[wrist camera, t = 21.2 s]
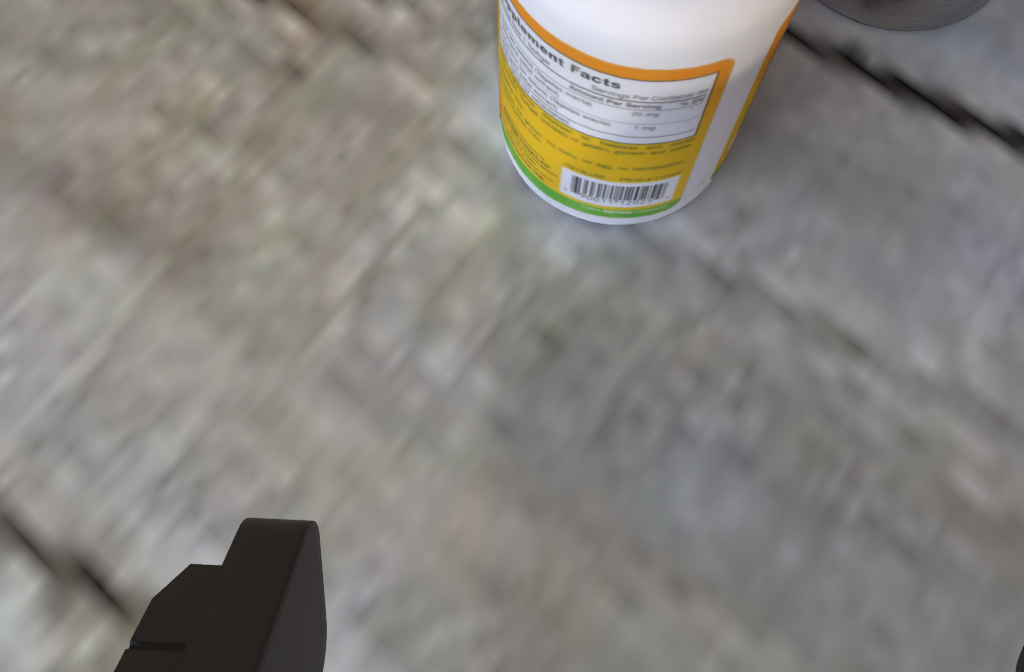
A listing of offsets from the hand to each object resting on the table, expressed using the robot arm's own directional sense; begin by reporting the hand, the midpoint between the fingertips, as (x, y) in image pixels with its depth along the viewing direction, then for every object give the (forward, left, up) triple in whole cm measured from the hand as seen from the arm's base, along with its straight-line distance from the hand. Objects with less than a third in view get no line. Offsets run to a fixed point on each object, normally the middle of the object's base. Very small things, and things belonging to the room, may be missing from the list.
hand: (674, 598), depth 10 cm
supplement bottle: (-5, +9, -9) cm, 14 cm away
